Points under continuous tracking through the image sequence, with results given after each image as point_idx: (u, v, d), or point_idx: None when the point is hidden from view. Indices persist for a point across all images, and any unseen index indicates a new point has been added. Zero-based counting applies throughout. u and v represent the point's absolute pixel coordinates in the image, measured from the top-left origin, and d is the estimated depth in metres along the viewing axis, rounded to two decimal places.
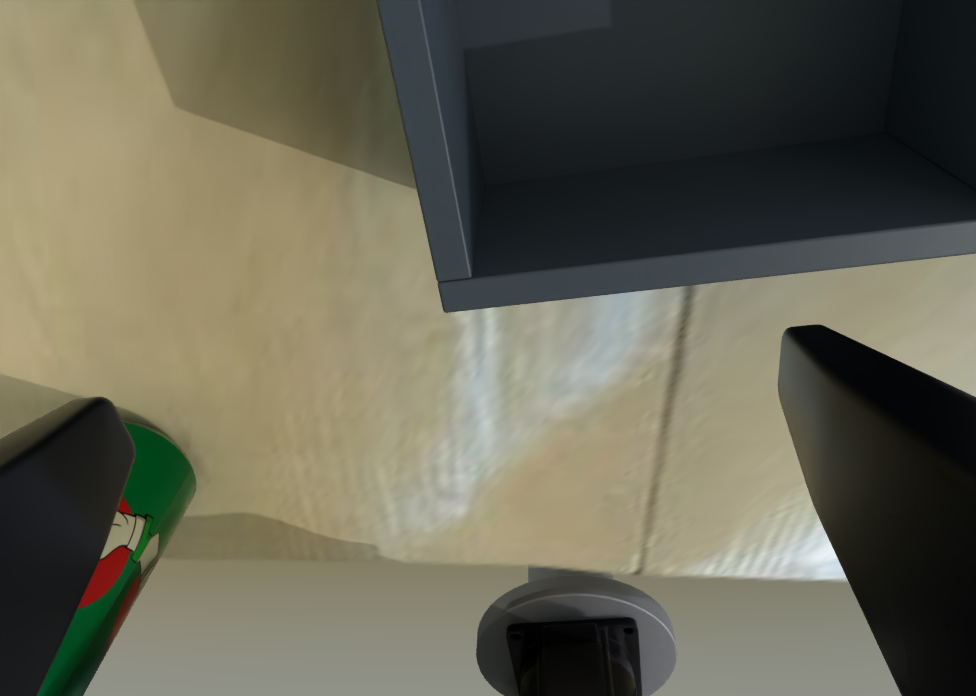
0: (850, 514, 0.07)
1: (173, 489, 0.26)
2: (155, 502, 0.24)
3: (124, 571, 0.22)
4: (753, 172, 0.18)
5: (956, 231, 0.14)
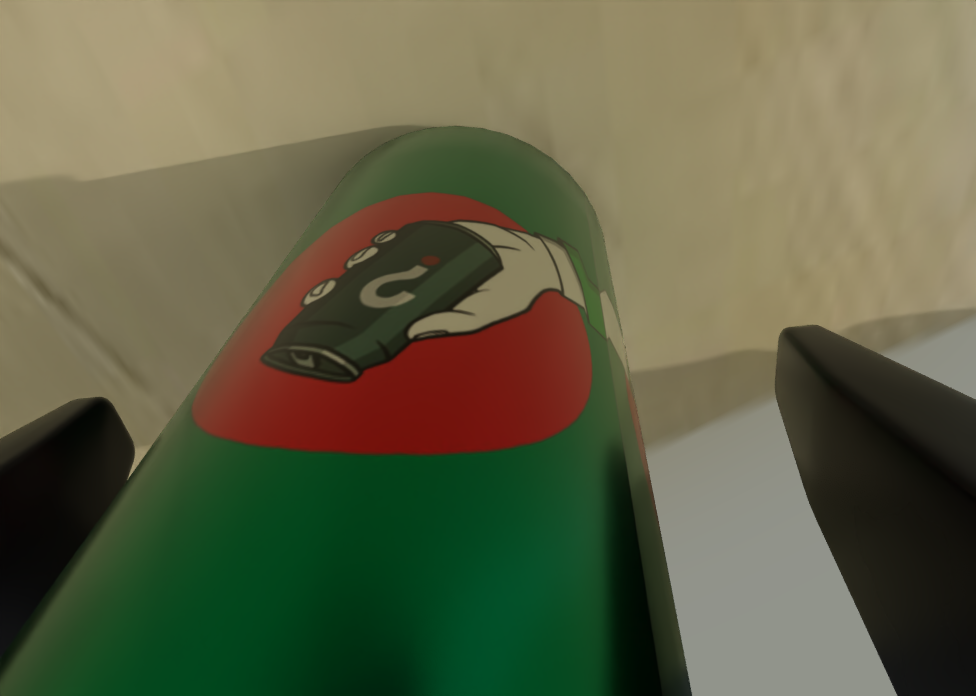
0: (846, 514, 0.07)
1: (577, 212, 0.10)
2: (561, 222, 0.09)
3: (595, 352, 0.07)
4: None
5: None
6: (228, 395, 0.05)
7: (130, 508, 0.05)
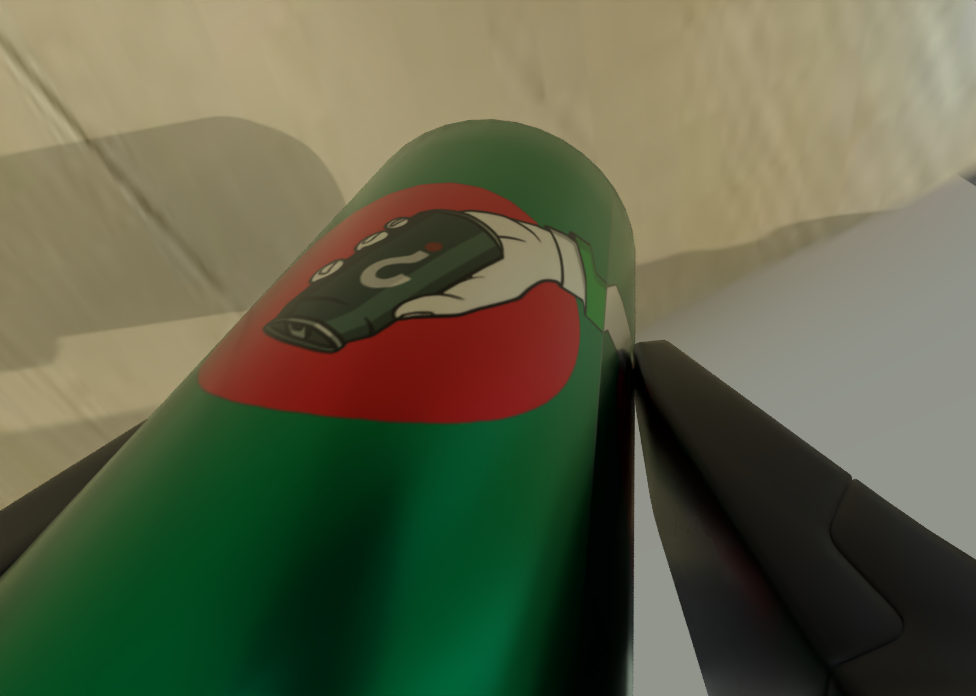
0: (670, 527, 0.07)
1: (601, 208, 0.10)
2: (578, 218, 0.09)
3: (585, 342, 0.07)
4: None
5: None
6: (229, 358, 0.06)
7: (130, 449, 0.05)
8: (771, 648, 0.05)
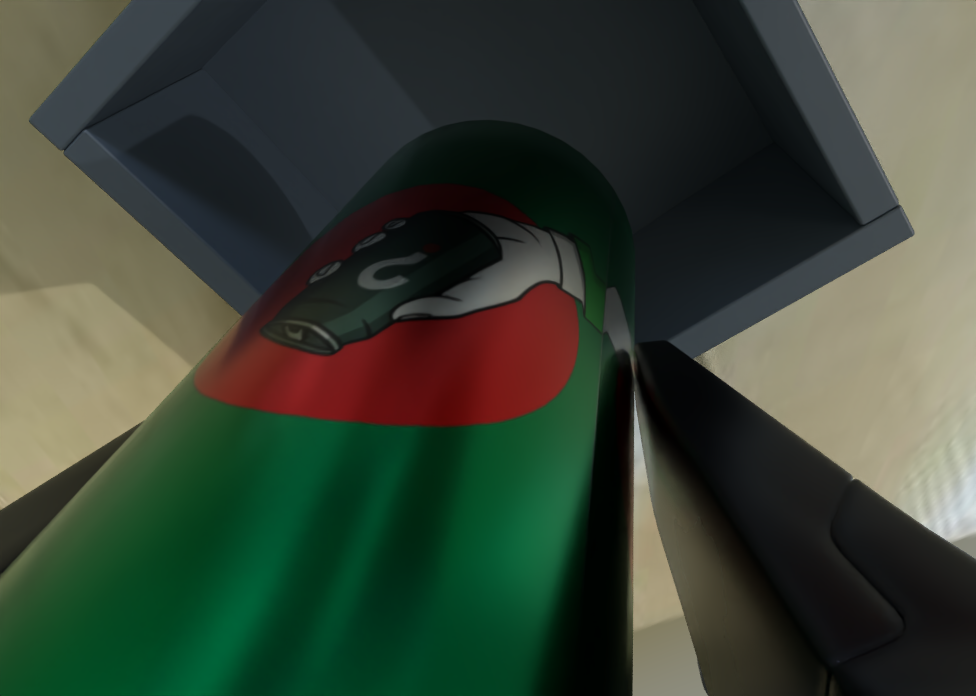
0: (671, 526, 0.07)
1: (600, 208, 0.10)
2: (577, 218, 0.09)
3: (584, 344, 0.07)
4: (659, 247, 0.19)
5: (819, 262, 0.14)
6: (225, 360, 0.06)
7: (125, 453, 0.05)
8: (771, 649, 0.05)
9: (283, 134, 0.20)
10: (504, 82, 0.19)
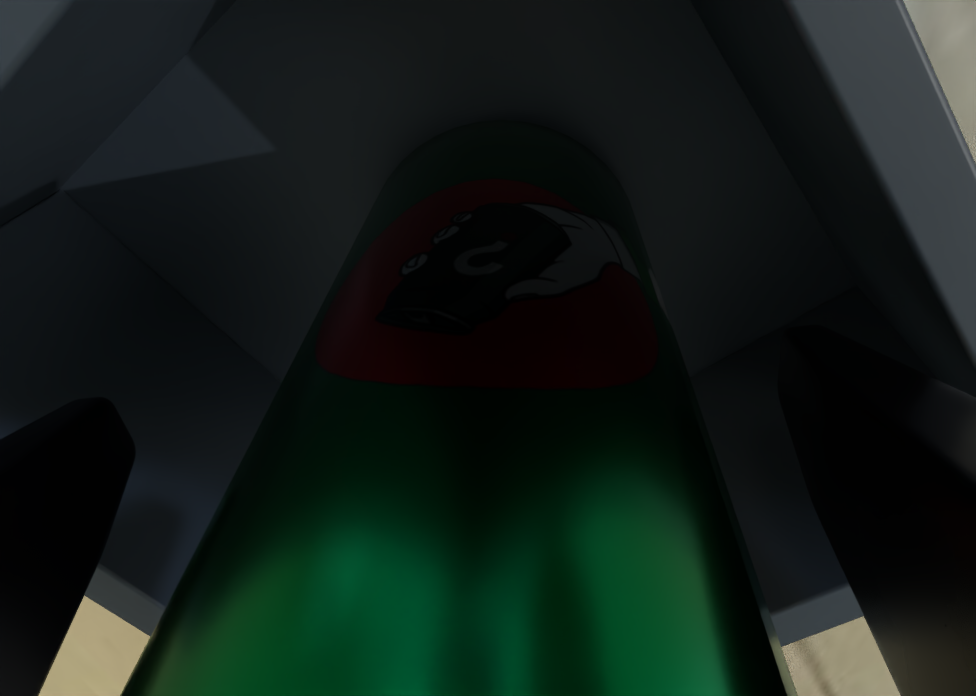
0: (849, 514, 0.07)
1: (618, 198, 0.11)
2: (609, 206, 0.10)
3: (655, 317, 0.08)
4: None
5: None
6: (354, 348, 0.06)
7: (290, 438, 0.05)
8: None
9: (180, 272, 0.14)
10: None
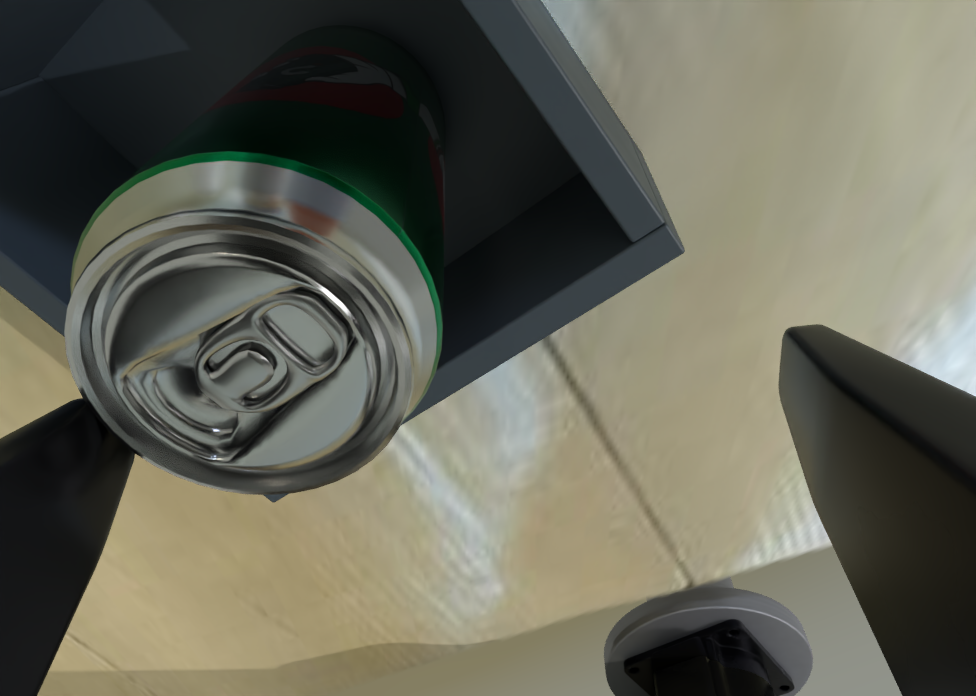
0: (851, 514, 0.07)
1: (415, 72, 0.16)
2: (400, 69, 0.15)
3: (407, 112, 0.13)
4: (491, 258, 0.19)
5: (597, 278, 0.15)
6: (220, 103, 0.11)
7: (183, 131, 0.11)
8: None
9: (126, 141, 0.20)
10: None
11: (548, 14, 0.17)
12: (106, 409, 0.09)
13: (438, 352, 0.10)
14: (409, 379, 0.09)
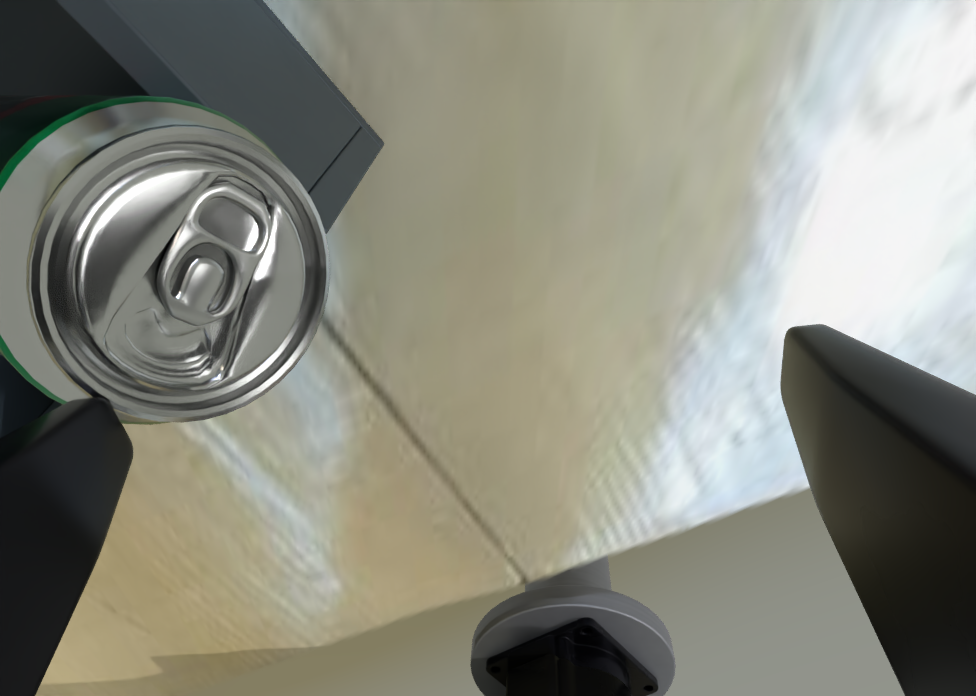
0: (853, 514, 0.07)
1: None
2: None
3: None
4: None
5: None
6: None
7: None
8: None
9: None
10: (70, 85, 0.19)
11: (254, 3, 0.18)
12: (99, 384, 0.09)
13: None
14: (320, 226, 0.11)
